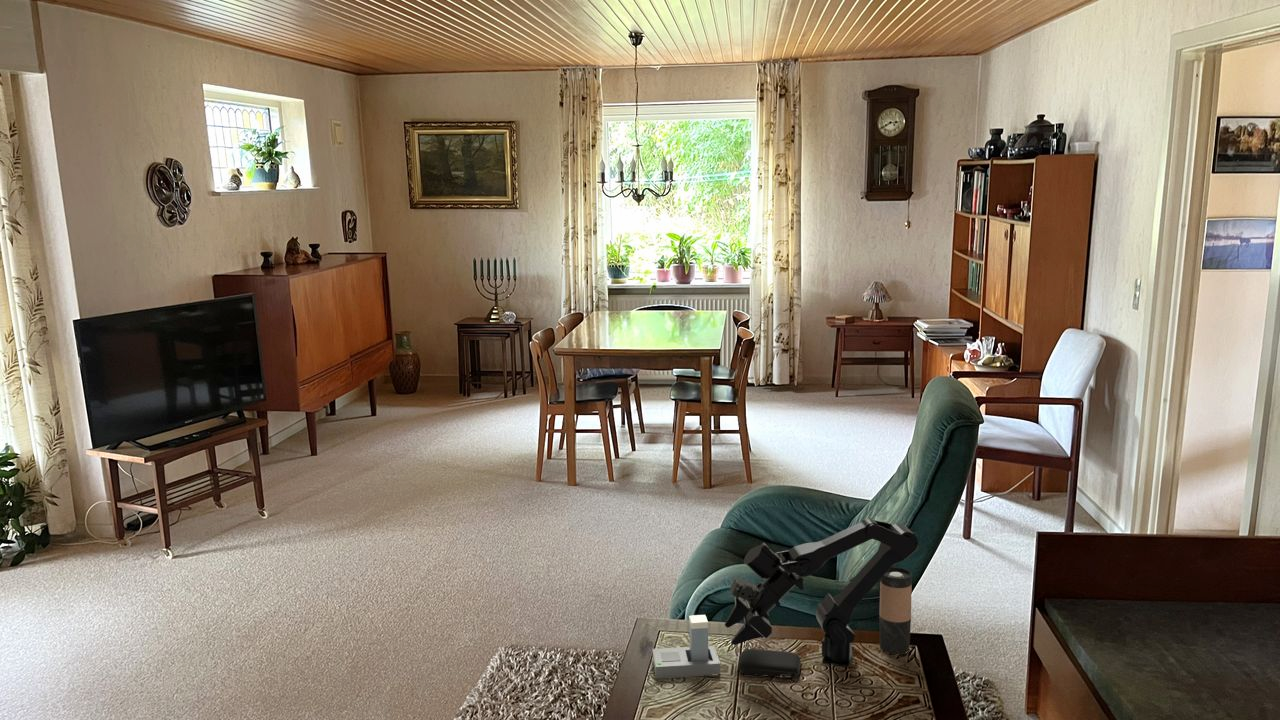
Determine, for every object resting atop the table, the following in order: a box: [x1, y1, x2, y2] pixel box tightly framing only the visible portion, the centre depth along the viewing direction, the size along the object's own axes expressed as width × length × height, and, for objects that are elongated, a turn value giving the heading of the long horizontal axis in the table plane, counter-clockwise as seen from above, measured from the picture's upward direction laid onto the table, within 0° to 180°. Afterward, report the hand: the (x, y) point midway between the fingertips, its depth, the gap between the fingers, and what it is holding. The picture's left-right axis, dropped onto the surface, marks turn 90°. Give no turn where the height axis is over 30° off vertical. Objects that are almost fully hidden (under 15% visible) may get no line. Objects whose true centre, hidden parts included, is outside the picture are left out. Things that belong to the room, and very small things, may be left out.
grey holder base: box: [652, 645, 721, 680], centre depth 214 cm, size 16×9×3 cm, turn 94°
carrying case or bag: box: [737, 648, 802, 679], centre depth 213 cm, size 11×3×15 cm
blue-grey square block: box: [688, 614, 709, 662], centre depth 214 cm, size 4×4×12 cm
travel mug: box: [878, 566, 913, 655], centre depth 221 cm, size 8×8×20 cm
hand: (729, 634), depth 214 cm, fingers open, 9 cm apart
